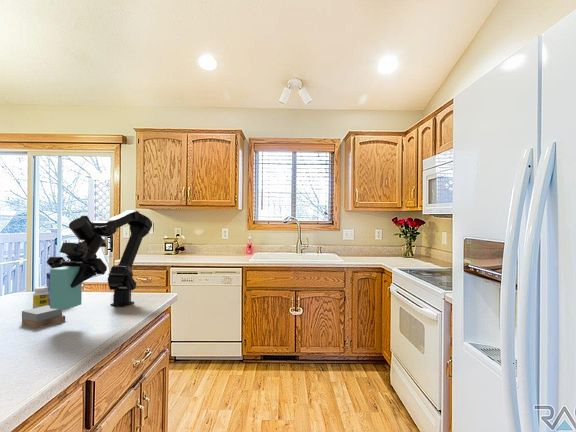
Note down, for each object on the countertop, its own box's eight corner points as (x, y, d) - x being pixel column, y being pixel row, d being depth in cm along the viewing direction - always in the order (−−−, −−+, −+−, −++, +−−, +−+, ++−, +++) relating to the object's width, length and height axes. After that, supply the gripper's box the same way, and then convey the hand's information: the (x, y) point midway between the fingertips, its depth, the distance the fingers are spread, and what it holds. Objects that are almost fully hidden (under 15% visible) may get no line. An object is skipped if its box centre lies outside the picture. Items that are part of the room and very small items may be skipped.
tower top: (47, 312, 118) (47, 305, 118) (62, 315, 115) (62, 308, 115) (21, 318, 111) (21, 310, 111) (36, 322, 107) (36, 314, 107)
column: (65, 303, 112) (65, 266, 111) (81, 304, 111) (81, 266, 111) (50, 308, 106) (50, 269, 106) (67, 309, 105) (67, 269, 105)
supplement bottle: (39, 311, 125) (40, 289, 125) (29, 310, 126) (30, 288, 126) (51, 308, 130) (51, 286, 130) (41, 307, 131) (41, 285, 131)
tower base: (52, 318, 119) (52, 311, 119) (65, 323, 114) (65, 315, 114) (21, 325, 111) (22, 317, 111) (34, 330, 107) (34, 322, 107)
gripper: (51, 232, 113) (20, 270, 102) (101, 234, 111) (75, 272, 100) (69, 253, 121) (42, 290, 110) (116, 255, 119) (94, 293, 108)
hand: (62, 286), depth 107 cm, fingers closed on column, 6 cm apart
